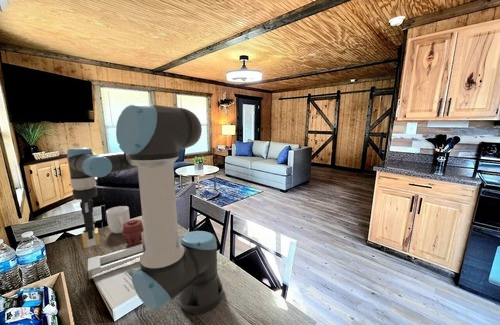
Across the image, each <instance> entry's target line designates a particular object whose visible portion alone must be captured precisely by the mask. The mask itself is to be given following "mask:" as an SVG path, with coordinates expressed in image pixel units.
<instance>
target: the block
mask: <svg viewBox="0 0 500 325" xmlns="http://www.w3.org/2000/svg"><path fill="white" fill-rule="evenodd" d="M94 231H95V239H96V245H93V246H97V245H100V235H99V234H100V233H99V228H98V227H95V229H94ZM81 236H82V237H81V238H82V244H83V245H82V246H83V249H87V248H89V247H88V246H87V238H86V232H84V233H83V232H82V234H81ZM93 246H92V247H93Z"/></svg>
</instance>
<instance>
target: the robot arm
mask: <svg viewBox="0 0 500 325" xmlns="http://www.w3.org/2000/svg"><path fill="white" fill-rule="evenodd" d="M202 131H203V130H202V124H201V121H200V119H199V118H198V116H197V115H196V114H195V113H194V112H192V111H191V110H189V109H187V108H183V107H176V106H175V107H174V106H173V107H172V106H167V105H158V104H150V103H134V104H130V105H128V106H126V107H125V108H123V110H122V111H121V113H120V115H119V116H118V119H117V121H116V128H115V135H116V136H115V137H116V141H117V144H118V145H119V147H118V148H119V149H120V150H121V151H122V152H120V151H119V152H113V153H112V152H111V153H102V154H101V153H100V154H94V152H93V150H92V148H91V147H72V148H69V149H68V150H66V156H67V158H66V160H67V163H68V171H69V177H70V178H69V180H70V185H71V186H70V187H71V188H72V191H71V192H72V198H73V200H76V201H79V200H81V201H79V202H80V203H79V206H80V207H79V208H81V214H82V215H83V222H84V230H83V231H82V233H84V232H86V238H87V246H88V247H87V248H89V247H93V245H94V246H97V245H96V239H95V231H94V229H95V228H96V227H95V223H96V222H97V221H96V220H95V218H94V216H93V215H94V214H93V212H94V200H93V198H95V197H97V196H98V188H97V186H96V185H97V180H98V178H103V177H104V178H105V177H106V176H107V175H109V174H115V173H119V172H126V171H131V170H137V175H138V186H139V196H140V205H141V207H140V208H141V216H142V225H143V229H144V231H143V239H144V249H145V250H144V251H143V252H144V253H143V252H142V253H143V254H142V255H141V257H140V262H139V263H140V268H139V269H137V270H135V271H134V272H133V274H132V275H131V283H132V286H133V289H134V291H135V293H136V295H137V297H138V298H139V300H141V302H142V303H144V305H145V306H146V307H148V308H149V309H151V310H156V311H157V310H160V309H161V308H163V307H164V306H165V305H167V304H168V303H170V302H171V301H172V300H173V299H175V298H176V297H177V296H178V302H179V306H180V308H181V309H182V310H183V311H184V312H187V313H189V314H196V315H197V314H203V313H206V312H209V311H211V310H213V309H214V308H215V307H216V306H218V304H219V303H221V300H222V298H223V294H224V293H223V292H224V291H223V290H224V289H223V283H222V281H221V278H220V277H219V274H218V251H217V249H218V244H217V239H216V236H215V235H214V234H213V233H211V232H208V231H204V230H195V231H194V230H193V231H189V232H186V233H184V234H183V235H182V236H181V237H180V240H179V230H178V229H179V228H178V215H177V200H176V185H175V183H176V182H175V172H174V171H175V170H174V164H175V162H176V161H177V160H178V159H179V157H180V155H179V152H180V151H183V150H186V149H188V148H190V147H193V146H195V145H196V144H197V143H198V142H199V141H200V139H201V137H202Z"/></svg>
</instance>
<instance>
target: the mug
mask: <svg viewBox="0 0 500 325" xmlns="http://www.w3.org/2000/svg"><path fill="white" fill-rule="evenodd" d="M105 214H106V221H107V225H108V227H109V230H110V231H111V232H112V233H113V234H122V230H123V224H124V223H126V222H128V221H130V220H131V219H130V218H131V217H130V209H129V206H127V205H125V206H124V205H122V206H121V205H119V206H114V207H110V208H108V209H107V210H106V211H105Z"/></svg>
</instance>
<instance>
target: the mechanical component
mask: <svg viewBox="0 0 500 325" xmlns="http://www.w3.org/2000/svg"><path fill="white" fill-rule="evenodd" d="M142 233H144V229H143V220H141V219H130V221H128V222H126V223H124V224H123V230H122V233H121V235H122V236H123V237H125V243H126V245H127V247H133V246H137V245H140V244H142V239H143V238H142V237H143V236H142Z"/></svg>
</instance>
